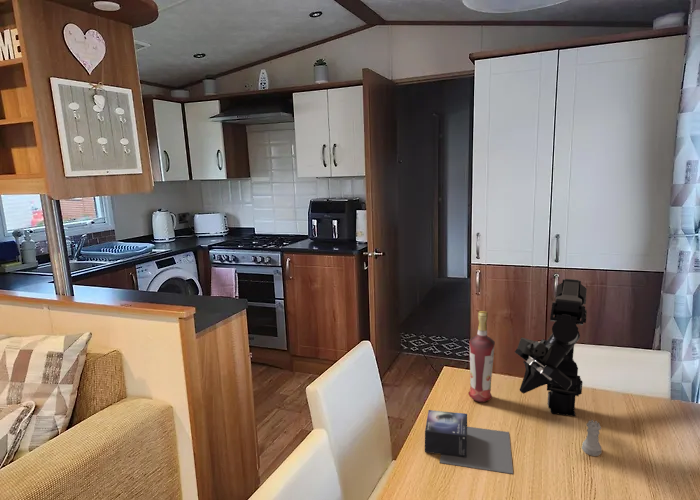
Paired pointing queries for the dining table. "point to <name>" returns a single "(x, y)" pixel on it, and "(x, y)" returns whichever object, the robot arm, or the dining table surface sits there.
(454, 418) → the small box
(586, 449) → the rook chess piece
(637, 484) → the dining table surface
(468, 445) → the mat
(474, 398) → the liquor
